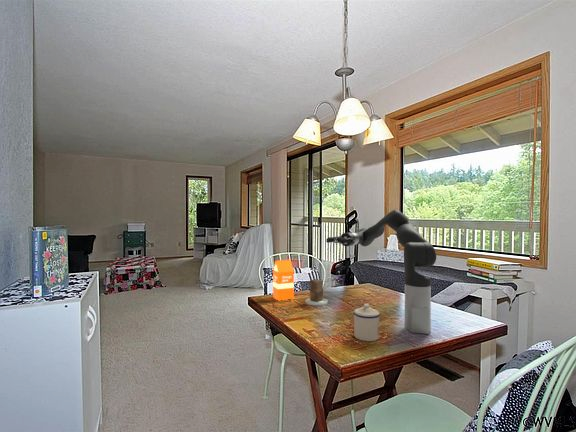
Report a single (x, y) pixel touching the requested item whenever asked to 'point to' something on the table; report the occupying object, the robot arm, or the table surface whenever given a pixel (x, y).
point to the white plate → (316, 302)
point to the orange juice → (283, 280)
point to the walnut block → (316, 290)
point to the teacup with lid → (366, 323)
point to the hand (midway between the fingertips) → (333, 241)
